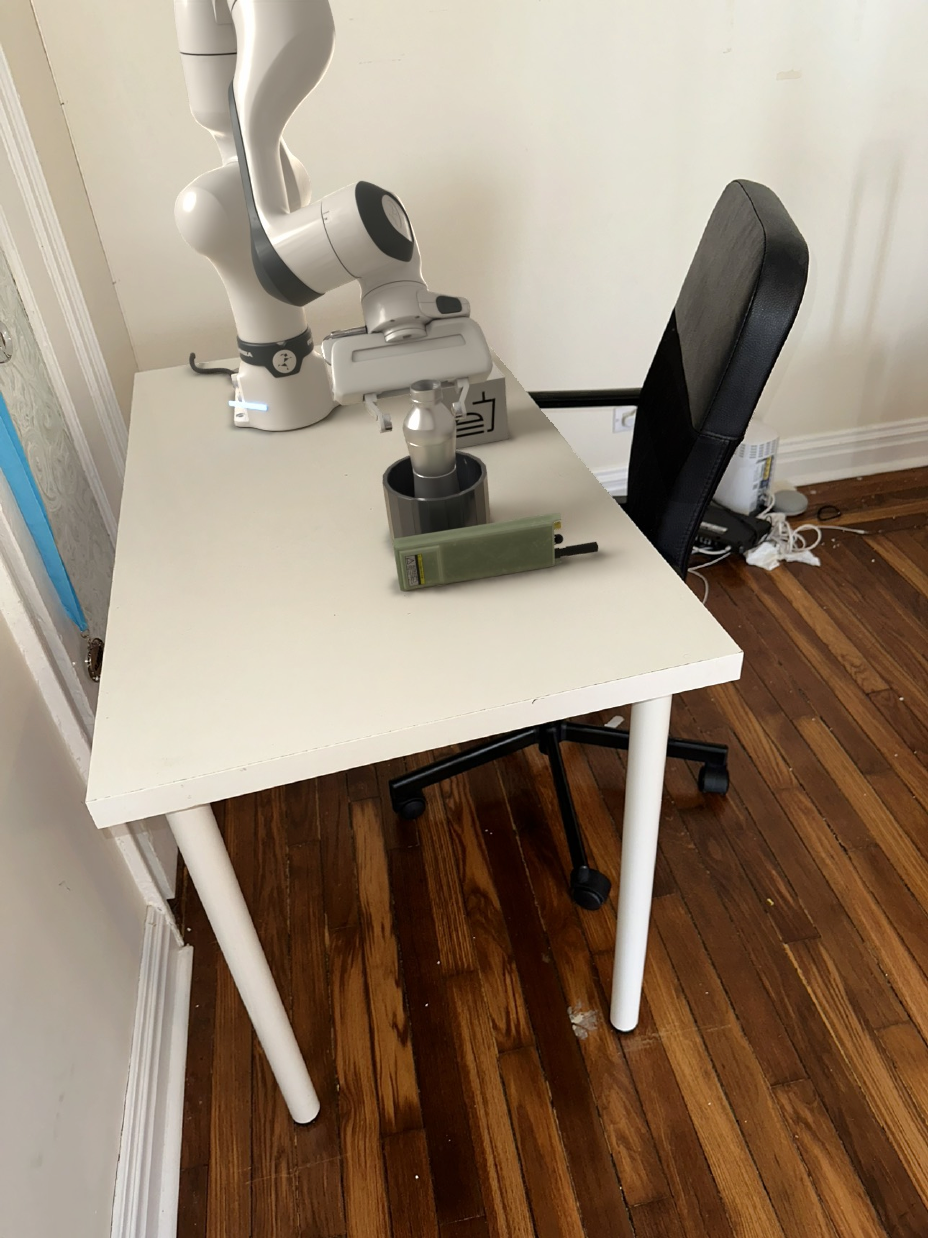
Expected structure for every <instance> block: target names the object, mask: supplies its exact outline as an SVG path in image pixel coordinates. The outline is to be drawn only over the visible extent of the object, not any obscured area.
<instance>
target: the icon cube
mask: <svg viewBox="0 0 928 1238" xmlns="http://www.w3.org/2000/svg"><path fill="white" fill-rule="evenodd" d="M492 362H493V367H492V371H491V373H490V375H489V377H488V379H487V380H486V381H485V382H481V383H475V384H469V389H468V392H467V395H466V398H465V401H464V404H465V408H466V414H467V416H466V418H465V419H459V420H455V422H456V447H455V450H456V449H462V448H467V447H472V446H478V445H483V444H489V443H495V442H499V441H505V440H509V425H508V424H509V423H508V408H507V407H508V406H507V405H508V404H507V388H506V376H505V375H504V374H503V372H502V371H501V370H500V368H499V367H498V365H497V364H496V363H495V362H494V360H492ZM441 390H442V394H443V400H442V401H441V403H442V404H443V405H444V406H445V407H446V408H447V409H448V410H449V411H450V413H451V414H452V415H454V414H453V413H452V410H451V407H452V404H453V403H455V402H459V399H460V396H461V393H460V394H457V393H456V390H455V387H451V388H445V389H441Z"/></svg>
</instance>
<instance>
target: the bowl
mask: <svg viewBox="0 0 928 1238" xmlns="http://www.w3.org/2000/svg"><path fill="white" fill-rule="evenodd" d="M455 457H456V474H457V479H458V484H459V490H460V493H458V494H454V495H450V496H446V497H440V498H430V499H426V498H415V486H414V473H413V468H412V463H411V458H410V454H408V455H407V456H404V457H402V458H399V459H397V460H396V461H395V462H393V463H392V464H390V465H389V466H388V467H387V468H386V470H385V471H384V472H383V474H382V482H381V483H382V490H383V497H384V503H385V511H386V516H387V522H388V523H387V524H388V529H389V536H390V540H391V544H392V545H393V541H392V539H396V538H402V537H408V536H415V535H421V534H427V533H433V532H440V531H446V530H452V529H459V528H465V527H471V526H477V525H484V524H490V523H492V522H491V521H492V520H491V509H490V494H489V479H488V470H487V469H488V468H487V464H486V463H484V461H483V460H482V459H481V458H480V457H478V456H476V455H474V454H472V453H469V452H465V451H462V450H456V449H455Z"/></svg>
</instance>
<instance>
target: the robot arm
mask: <svg viewBox="0 0 928 1238" xmlns="http://www.w3.org/2000/svg"><path fill="white" fill-rule="evenodd" d="M172 3H173V4H172V5H173V15H174V26H175V33H176V40H177V46H178V51H179V56H180V62H181V67H182V72H183V78H184V83H185V89H186V94H187V99H188V105H189V109H190V110H189V111H190V113H191V115H192V117H193V119H194V120H195V122H196V123H197V124H198V125H199V126H201V127H202V128H203V129H205V130H207V131H208V132H209V133H210V134H211V136H212V137H213V139H214V141H215V143H216V145H217V148H218V150H219V154H220V156H221V159H222V166H218V167H217V168H214V169H212V170H208V171H206V172H204V173H202V174H200V175H198V176H197V177H196V178H194V179H193V180H192V181H191V182H189V183H188V184H187V185H186V186H185V187H184V188H183V189H182V190H181V191H180V192H179V193H178V195H177V197H176V199H175V202H174V210H173V211H174V220H175V225H176V227H177V229H178V230H177V231H178V232H179V234H180V235H181V237H182V239H183V240H184V242H185V243H186V244H187V245H188V246H189V247H190V249H192V250H193V251H194V252H196V253H197V254H199V255H201V256H203V257H204V258H206V259H207V260H208V261H209V262H210V263H211V265H212V266H213V267H214V269H215V270H216V272H217V274H218V276H219V277H220V279H221V281H222V283H223V285H224V287H225V290H226V293H227V296H228V300H229V303H230V307H231V311H232V314H233V315H232V316H233V318H234V322H235V327H236V332H237V335H236V346H237V347H236V348H237V351H238V354H239V357H240V364H239V367H237V368H233V369H230V368H226V367H209V368H203V367H202V368H201V367H197V365H196V363H195V359H196V353H195V352H191V353H190V354H189V359H188V361H189V366H190V368H191V370H192V371H194V372H195V373H197V374H202V375H203V374H207V375H209V374H226V375H229V376H230V378H231V383H232V386H233V388H234V389H235V391H234V392H235V393H234V401H233V400H229V401H228V405H229V406H230V407H234V408H233V409H234V410H233V422H234V426H235V427H238V428H239V427H240V428H254V429H258V430H263V431H271V432H272V431H273V432H277V431H278V432H279V431H291V430H295V429H301V428H305V427H309V426H310V425H313V424H315V423H318V422H320V421H321V420H323V419H324V418H326V417H327V416H329V415H330V413H331V412H332V411H333V410H334V409H335V408H336V407H338V406H340V405H341V406H349V405H355V404H361V403H363V404H364V406H365V407H364V408H365V411H367V413H368V414H369V415H370V416H371V417H372V418H373V419H374V420H375V421H376V422H377V425H378V429H379V432H380V434H384V433H388V432H393V423H392V421H391V420H392V417H391V413H385V414H384V413H383V412H382V410H380V409H379V408H378V401H379V400H385V399H391V398H398V397H403V396H408V395H411V393H410V385H411V384H412V383H414V382H416V381H419V380H424V379H433V380H437V381H439V382H440V383H441V389H445V388H451V387H455V390H456V393H457V394H460V393H461V396H460V399H459V402H455V403H453V404H452V407H451V410H452V413H453V414H454V415H453V417H454V419H455V420H459V419H465V418H466V416H467V414H466V408H465V404H464V401H465V398H466V395H467V392H468V389H469V384H475V383H481V382H485V381H486V380H487V379H488V377H489V375H490V373H491V371H492V367H493V362H494V361H493V358H492V354H491V350H490V348H489V344H488V342H487V338H486V336H485V334H484V332H483V329H482V327H481V326H480V324H479V323H478V322H477V321H476V320H475V319H473V318H472V317H471V304H470V301H469V300H468V298H467V297H464V296H459V295H450V294H444V293H440V292H439V293H438V292H434V291H430V289H429V286H428V284H427V282H426V281H425V279H424V277H423V274H422V265H423V263H422V256H421V252H420V251H421V250H420V247H419V244H418V241H417V237H416V234H415V231H414V227H413V225H412V222H411V220H410V217H409V215H408V212H407V210H406V207H405V205H404V204H403V202H402V200H401V198H400V197H399V196H398V195H397V193H394V192H393V191H391V190H389V189H387V188H383V187H381V186H379V185H377V184H375V183H373V182H369V181H365V180H359V181H357V182H353V183H350V184H348V185H346V186H344V187H341V188H339V189H337V190H335V191H333V192H331V193H329V194H326V195H324V196H323V197H322V198H320V199H318V200H316V201H314V202H312V203H311V200H312V195H313V188H312V182H311V178H310V175H309V173H308V171H307V169H306V167H305V166H304V164H303V163H302V162H301V161H300V160H299V158H298V157H296V156H295V155H294V154H292V152H291V151H290V150H289V148H288V145H287V144H286V142H285V140H284V137H283V134H284V130H285V128H286V126H287V125H288V123H289V121H290V120H291V118H292V116H293V115H294V113H295V112H296V111H297V109H299V107H300V106H301V105H302V103H303V102H304V101H305V100H306V98H307V97H308V96H309V95H310V94H311V93H312V92H313V91H314V90H315V89H316V87H317V86H318V85H319V84H320V83H321V82H322V80H323V78H324V77H325V75H326V73H327V71H328V69H329V67H330V66H331V65H330V64H331V63H332V59H333V57H334V53H335V48H336V42H337V35H336V27H335V22H334V16H333V13H332V8H331V4H330V1H329V0H172ZM354 281H356V282H357V284H358V286H359V288H360V295H359V298H360V299H359V301H360V302H359V304H360V309H361V312H362V317H363V322H364V325H361V326H355V327H350V328H346V329H335V330H331V331H330V333H329V334H328V335H326V336H325V337H324V338H323V340H322V341H321V345H320V346H321V353H322V354H321V353H318V352H317V351H316V350H315V349H314V348H315V344H314V343H315V342H314V336H313V332H312V330H311V326H310V324H309V323H308V322H307V317H306V312H305V311H306V310H305V306H307V305H308V304H310V303H311V302H314V301H316V300H317V299H319V298H321V297H323V296H325V295H326V293H328V292H331V291H333V290H335V289H338V288H340V287H342V286H344V285H346V284H348V283H351V282H354ZM492 361H493V362H492ZM328 365H329V366H330V373H331V378H330V374H329V369H328Z"/></svg>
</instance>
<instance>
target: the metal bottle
mask: <svg viewBox="0 0 928 1238" xmlns="http://www.w3.org/2000/svg"><path fill="white" fill-rule="evenodd" d="M410 393H411V394H410V396H409V401H410V403H411V404H412V405H411V407H410V409H409V410H408V412H407V413H406V415H405V417H404V419H403V424H402V432H403V437H404V441H405V444H406V447H407V451H408V455H410V458H411V463H412V468H413V473H414V486H415V498H426V499H430V498H440V497H446V496H450V495H454V494H458V493H460V490H459V484H458V479H457V474H456V457H455V450H456V449H455V447H456V422H455V419H454V417H453V415H452V414H451V413H450V411H449V410H448V409H447V408H446V407H445V406H444V405H443V404H442V403H441V401H442V400H443V394H442V390H441V383H440V382H439V381H437V380H433V379H424V380H419V381H416V382H414V383H412V384H411V385H410Z"/></svg>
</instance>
